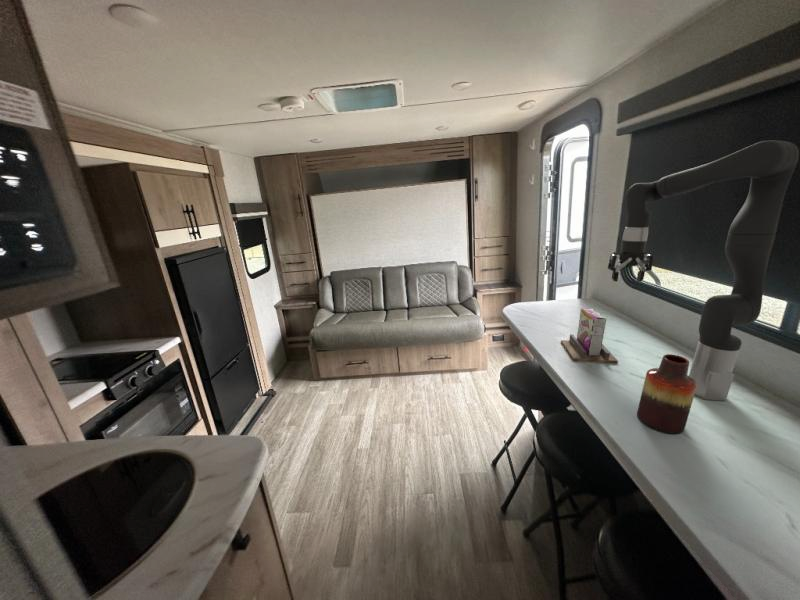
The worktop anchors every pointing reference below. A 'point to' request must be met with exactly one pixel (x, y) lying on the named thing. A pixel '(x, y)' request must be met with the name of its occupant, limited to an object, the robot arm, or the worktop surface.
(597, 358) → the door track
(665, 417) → the vase
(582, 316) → the candy bar box
